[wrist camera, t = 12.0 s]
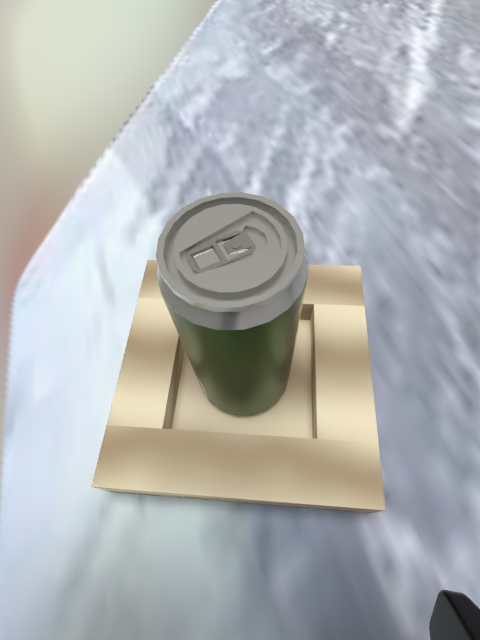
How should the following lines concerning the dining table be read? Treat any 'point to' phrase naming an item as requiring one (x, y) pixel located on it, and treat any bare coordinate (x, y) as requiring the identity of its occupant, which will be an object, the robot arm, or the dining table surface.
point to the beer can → (235, 295)
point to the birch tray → (250, 430)
